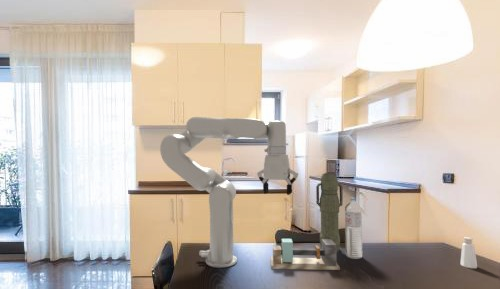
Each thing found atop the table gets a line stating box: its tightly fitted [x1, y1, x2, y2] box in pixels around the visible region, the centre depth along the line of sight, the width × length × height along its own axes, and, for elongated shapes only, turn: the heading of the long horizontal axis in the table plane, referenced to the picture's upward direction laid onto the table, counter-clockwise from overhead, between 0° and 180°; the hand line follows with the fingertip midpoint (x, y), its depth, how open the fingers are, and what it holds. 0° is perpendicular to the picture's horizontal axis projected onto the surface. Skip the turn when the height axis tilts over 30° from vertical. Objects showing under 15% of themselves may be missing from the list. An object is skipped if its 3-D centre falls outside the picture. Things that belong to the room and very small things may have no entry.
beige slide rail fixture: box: [269, 239, 341, 271], centre depth 108 cm, size 26×9×9 cm, turn 88°
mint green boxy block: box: [281, 238, 294, 262], centre depth 108 cm, size 4×5×8 cm
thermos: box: [315, 172, 344, 253], centre depth 126 cm, size 9×12×35 cm
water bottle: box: [344, 197, 363, 260], centre depth 117 cm, size 7×7×25 cm
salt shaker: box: [459, 236, 478, 269], centre depth 107 cm, size 5×5×11 cm
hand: (277, 193), depth 110 cm, fingers open, 9 cm apart
